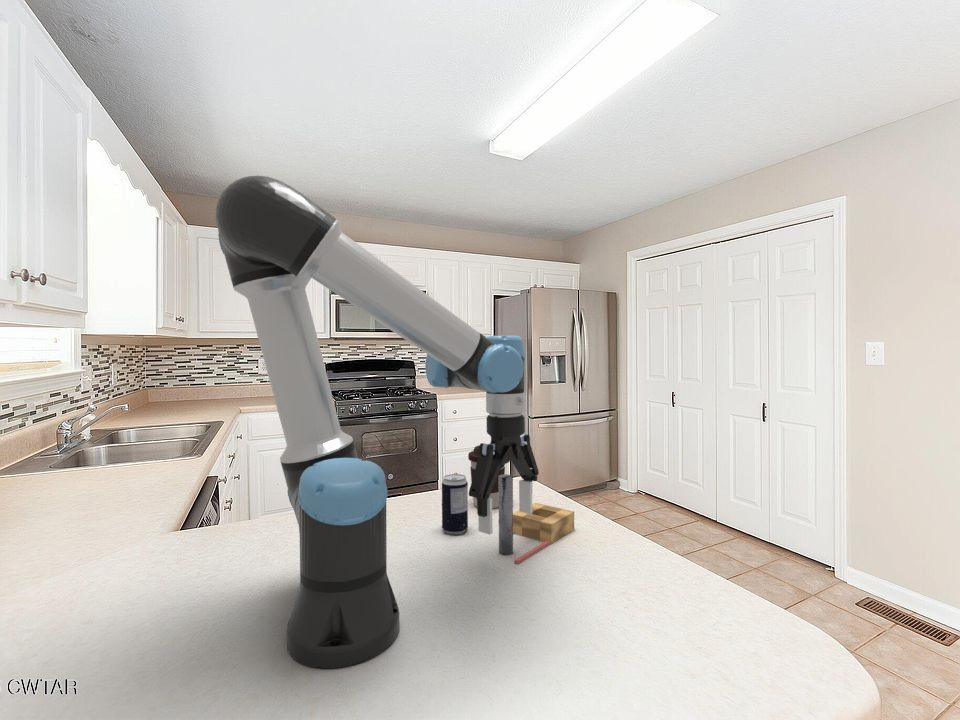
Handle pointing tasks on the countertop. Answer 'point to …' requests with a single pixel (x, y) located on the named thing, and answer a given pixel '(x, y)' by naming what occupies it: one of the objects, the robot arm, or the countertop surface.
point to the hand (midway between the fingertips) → (506, 521)
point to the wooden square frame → (544, 523)
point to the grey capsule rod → (505, 514)
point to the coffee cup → (495, 491)
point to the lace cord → (532, 552)
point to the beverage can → (454, 504)
